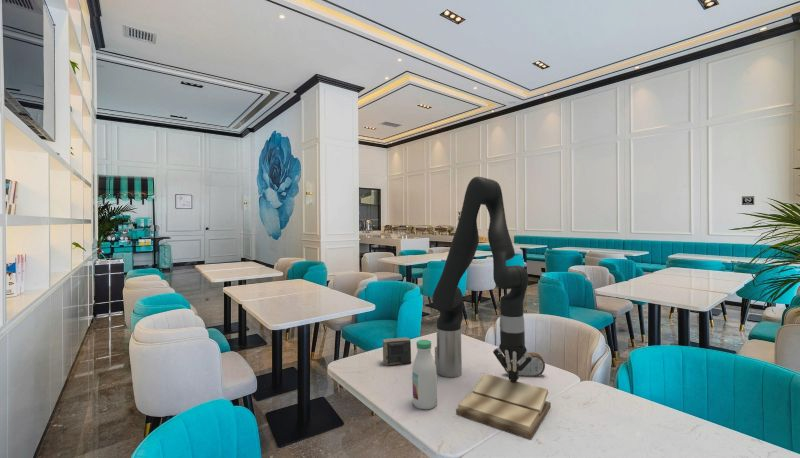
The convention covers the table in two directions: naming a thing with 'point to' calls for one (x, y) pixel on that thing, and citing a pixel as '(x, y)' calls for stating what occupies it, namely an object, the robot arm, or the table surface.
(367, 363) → the table surface
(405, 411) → the table surface
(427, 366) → the milk bottle
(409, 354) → the camera
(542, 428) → the table surface
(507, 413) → the floor board
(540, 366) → the tin
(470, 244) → the robot arm
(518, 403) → the oak plank
